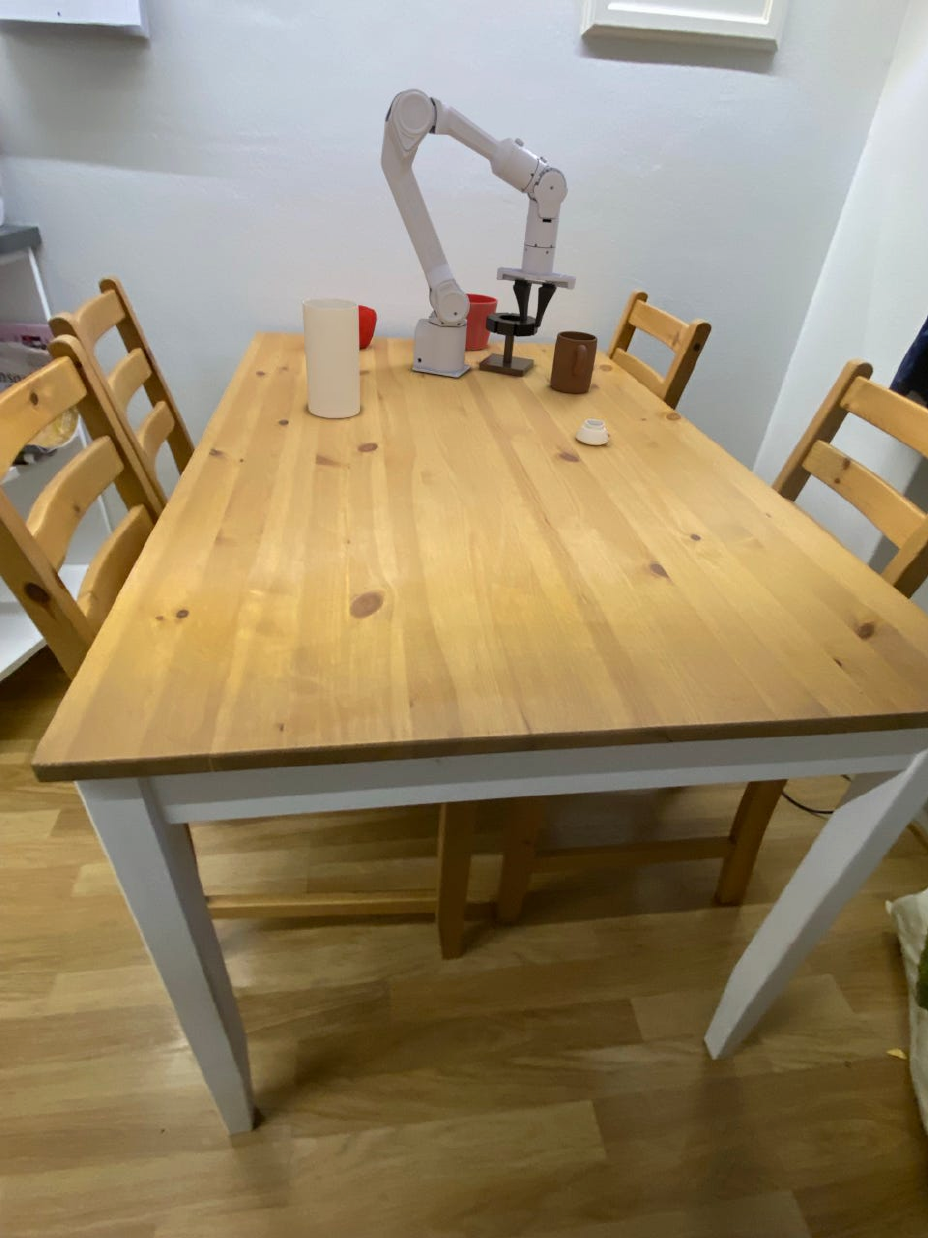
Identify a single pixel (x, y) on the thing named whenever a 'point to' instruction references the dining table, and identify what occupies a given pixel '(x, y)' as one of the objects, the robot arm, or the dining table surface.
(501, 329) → the ring
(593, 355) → the mug
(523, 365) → the post
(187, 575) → the dining table surface
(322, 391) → the cup
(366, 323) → the apple
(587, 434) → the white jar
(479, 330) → the flower pot
